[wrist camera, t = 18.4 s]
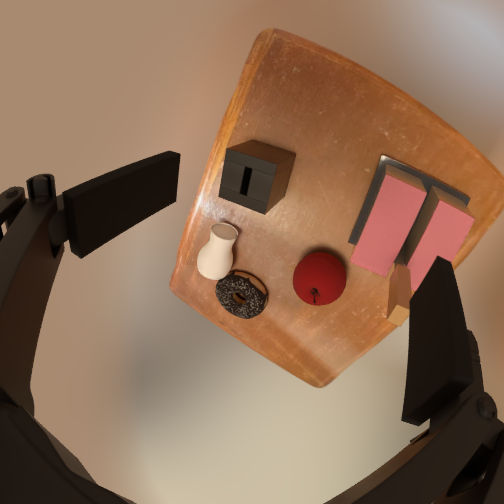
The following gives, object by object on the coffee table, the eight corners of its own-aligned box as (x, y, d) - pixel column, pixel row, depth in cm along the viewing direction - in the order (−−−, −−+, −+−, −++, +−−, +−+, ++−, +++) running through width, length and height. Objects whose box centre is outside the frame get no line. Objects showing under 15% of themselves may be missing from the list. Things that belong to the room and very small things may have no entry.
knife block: (252, 139, 48) (226, 148, 41) (296, 153, 46) (277, 164, 39) (243, 181, 52) (218, 196, 45) (284, 196, 51) (264, 214, 43)
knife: (397, 231, 44) (397, 303, 29) (408, 236, 43) (412, 309, 28) (390, 246, 45) (385, 322, 30) (400, 251, 45) (399, 328, 30)
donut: (265, 317, 66) (258, 329, 63) (219, 299, 70) (211, 309, 67) (272, 279, 60) (265, 290, 57) (221, 261, 64) (211, 270, 61)
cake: (382, 153, 40) (381, 164, 33) (469, 196, 36) (483, 215, 29) (348, 239, 49) (340, 264, 42) (427, 275, 45) (431, 304, 38)
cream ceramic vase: (218, 214, 58) (207, 252, 64) (199, 229, 53) (188, 268, 59) (249, 232, 57) (234, 268, 63) (232, 248, 52) (218, 286, 58)
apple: (351, 248, 50) (342, 279, 42) (347, 290, 54) (337, 324, 46) (301, 241, 53) (282, 269, 45) (301, 283, 58) (284, 314, 50)
